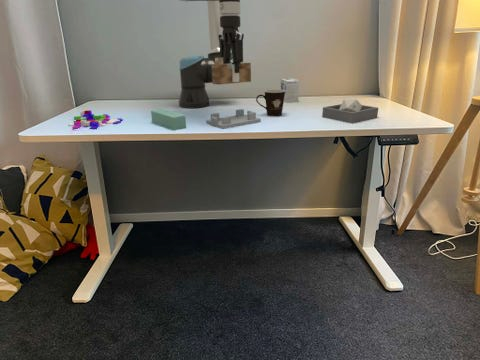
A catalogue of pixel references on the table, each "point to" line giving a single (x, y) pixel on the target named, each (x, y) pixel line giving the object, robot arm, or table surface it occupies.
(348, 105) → the white irregular lump
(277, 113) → the coffee mug
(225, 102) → the table surface
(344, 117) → the dice tray
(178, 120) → the green rectangular block
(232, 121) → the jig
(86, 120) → the building block set
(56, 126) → the table surface
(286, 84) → the light bulb box
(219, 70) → the wooden grain block
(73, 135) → the table surface
